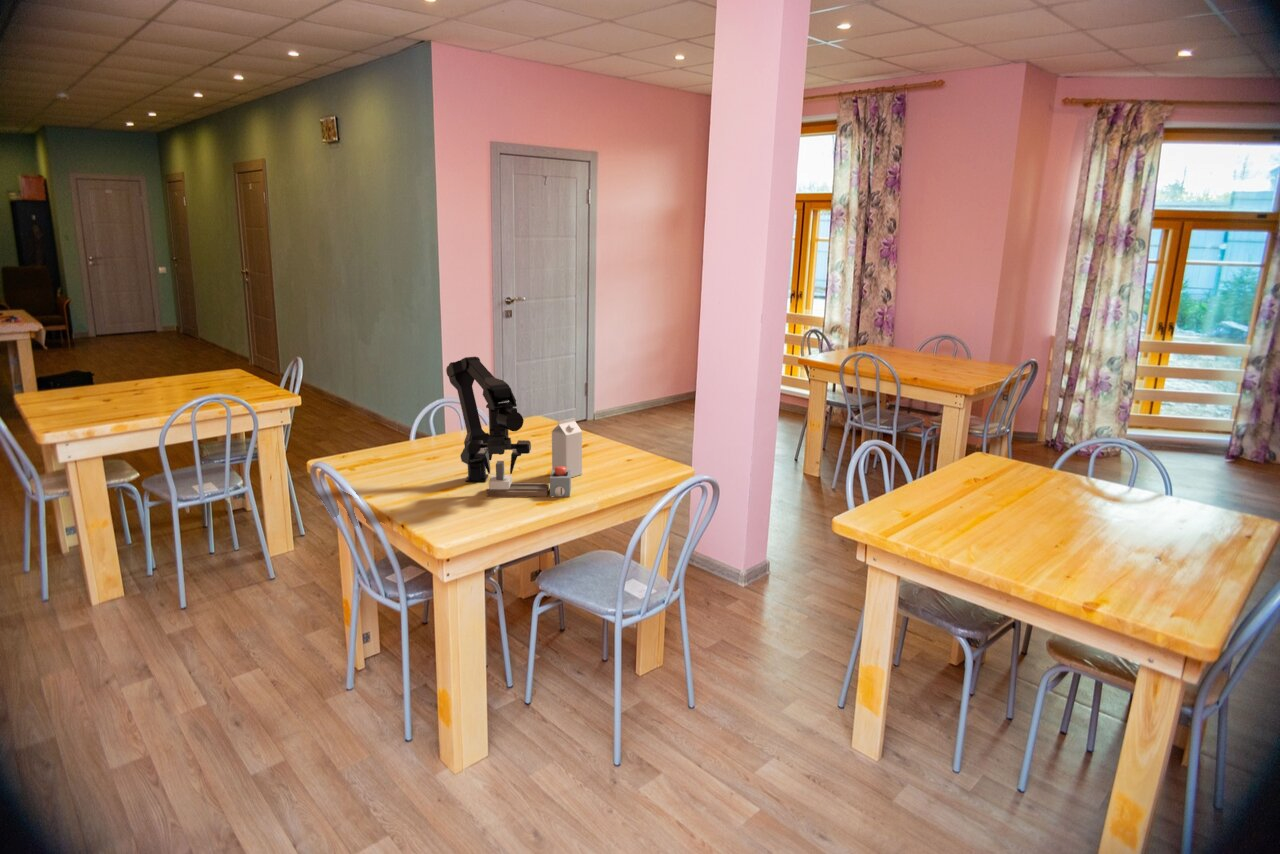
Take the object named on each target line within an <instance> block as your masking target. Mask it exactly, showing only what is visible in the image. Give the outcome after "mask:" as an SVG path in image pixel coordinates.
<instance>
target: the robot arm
mask: <svg viewBox="0 0 1280 854" xmlns="http://www.w3.org/2000/svg"><path fill="white" fill-rule="evenodd" d="M445 370H446V375H447V377H448V379H449V383H450V385H452V386H453V387H454V388H455V389H456V391H457V395H458V398H459V402H460V408H461V412H462V416H463V421H464V424H465V430H466V436H465V437H464V438H465V439H464V440H463V441H464V442H463V445H464V448H463V450H462V451H461V453H460V460H461V462H462V463H464V464H465V465H467V477H466V478H465V480H464V481H465V482H466V483H467V482H470V483H471V482H472V483H474V482H476V483H477V482H478V483H480V482H484V483H485V482H487V480H488V478H489V475H490V474H491V463H490V461H492V459H493V455H500V456H501V455H504V454H505V451H507V450H509V451H512V452H511V454H510V465H509V466H510V467H509V472H510V473H509V475H512V474H513V470H514V467H515V464H516V461H517V458H518V457H520V456H522V455H523V454H524V455H525V454H527V455H528V454H530V452H531V450H532V442H531V441H530V440H527V439H525V440H522V439H518V440H517V442H516V443H512V438H511V437H509V436H510V434H509V431H511V432H517V431H519V430H521V428H523V425H524V416H523V415H522V414H521V413H519V412H518V408H517V407H518V404H517V399H516V398H515V394H514V393H513V391H512V388H511V386H510V385H509V383H507V382H506V381H504V380H503V379H500V378H496V377H495V376H494V375H493V374H492V373H491V372H490V371H489V370H488V369H487V368H486V366H485V365H484V364H483V363H482V362H481V359H480V357H478V356H465V357H463V358H462V359H460V360H457V361H453V362H450V363H448V365H447V366H446V368H445ZM474 382H476V383H477V384H478V385H479V386H480V387H481V389H482V396H483V398H484V400H485V401H486V403H487V404H486V405H485V407H486V409H488V427H489V428H488V431H489V432H485V431H484V430H483V428H482V423H481V419H480V415H479V410H478V406H477V402H476V398H475V393H474V389H473V385H474Z"/></svg>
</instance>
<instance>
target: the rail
mask: <svg viewBox="0 0 1280 854" xmlns="http://www.w3.org/2000/svg"><path fill="white" fill-rule="evenodd" d="M548 489H549V490H550V483H546V482H545V483H543V482H541V483H540V482H534V483H532V482H512V483H511V485H510V488H509V489H489V488H488V489H487V493H486V495H487V496H486V497H487V498H488V497H492V498H493V497H495V498H496V497H497V498H499V497H500V498H501V497H504V498H505V497H508V498H509V497H511V498H512V496H547V497H548V494H547V493H549V490H548Z"/></svg>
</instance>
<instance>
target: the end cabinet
mask: <svg viewBox="0 0 1280 854" xmlns="http://www.w3.org/2000/svg"><path fill="white" fill-rule="evenodd" d="M571 491H572V477H571V470H566V475H564V476H557V475H555V470H552V469H551V471H550V475H549V497H550V496H553V498H554V497H559V498H561V497H564V498H565V497H566V498H569V497H571Z"/></svg>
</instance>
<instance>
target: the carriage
mask: <svg viewBox="0 0 1280 854" xmlns="http://www.w3.org/2000/svg"><path fill="white" fill-rule="evenodd" d="M512 476H513V475H512V474H505V460H496V462H495V474H491V476H490V479H489V480H488V489H509V488H510V485H511V483H513V477H512Z"/></svg>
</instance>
